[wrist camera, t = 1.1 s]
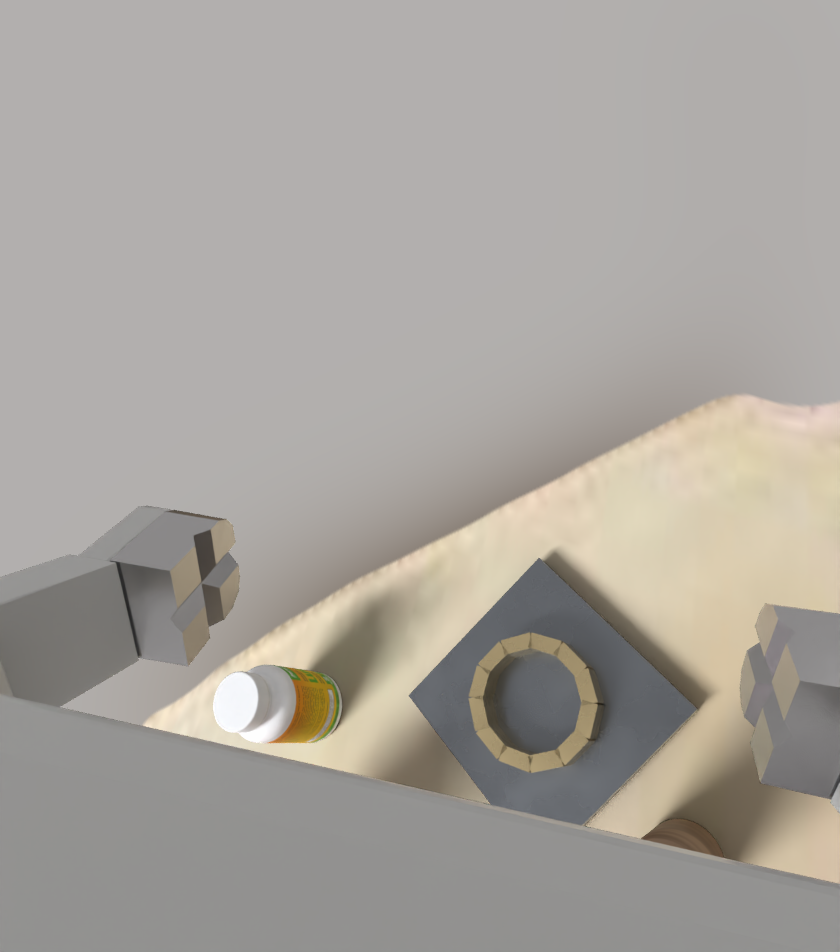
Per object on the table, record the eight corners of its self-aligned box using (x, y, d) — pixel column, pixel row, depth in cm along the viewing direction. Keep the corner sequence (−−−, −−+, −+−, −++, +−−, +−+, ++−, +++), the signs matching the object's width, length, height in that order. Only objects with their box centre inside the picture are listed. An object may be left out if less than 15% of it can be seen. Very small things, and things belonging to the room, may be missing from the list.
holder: (543, 561, 50) (530, 551, 47) (698, 709, 42) (693, 707, 39) (416, 696, 51) (396, 694, 48) (544, 865, 43) (529, 873, 40)
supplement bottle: (348, 674, 54) (273, 662, 46) (339, 746, 52) (259, 747, 44) (293, 670, 56) (212, 658, 48) (283, 739, 54) (197, 739, 46)
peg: (695, 805, 40) (675, 822, 32) (742, 883, 38) (734, 924, 30) (631, 838, 41) (596, 863, 33) (673, 916, 39) (647, 964, 31)
